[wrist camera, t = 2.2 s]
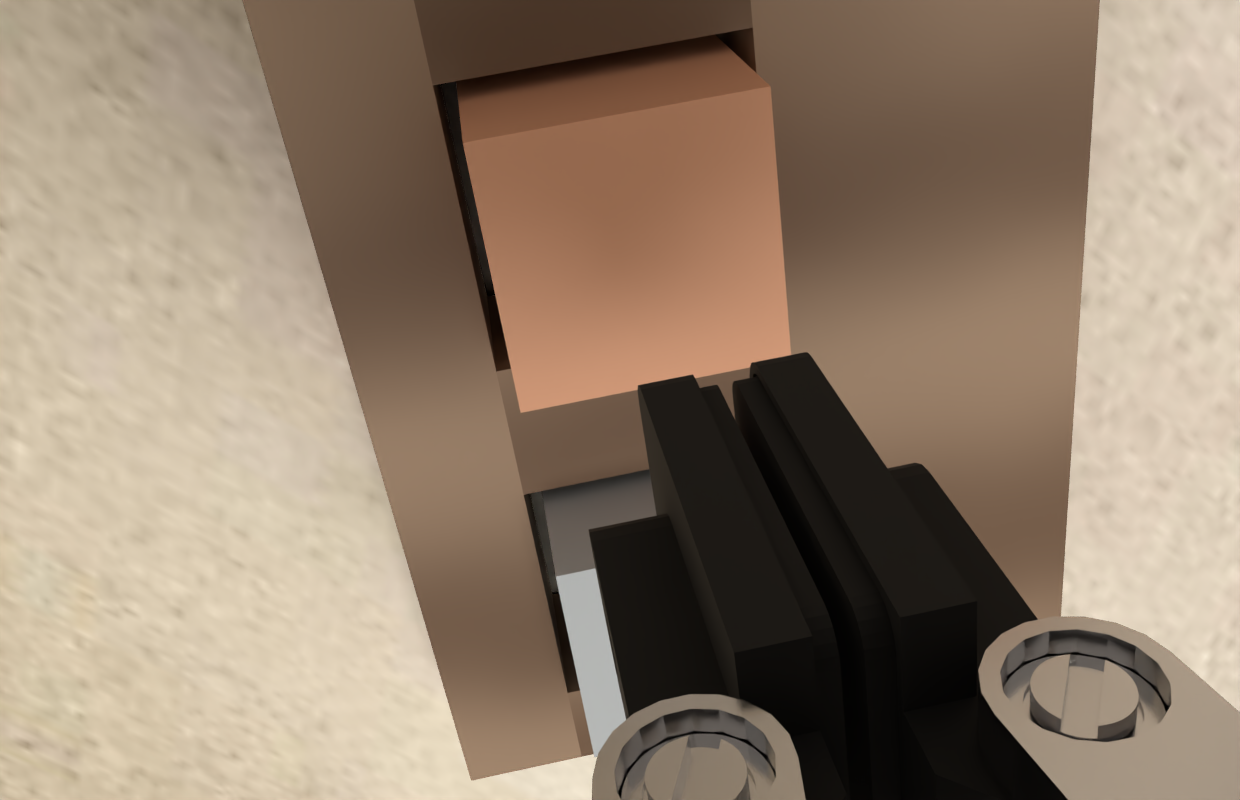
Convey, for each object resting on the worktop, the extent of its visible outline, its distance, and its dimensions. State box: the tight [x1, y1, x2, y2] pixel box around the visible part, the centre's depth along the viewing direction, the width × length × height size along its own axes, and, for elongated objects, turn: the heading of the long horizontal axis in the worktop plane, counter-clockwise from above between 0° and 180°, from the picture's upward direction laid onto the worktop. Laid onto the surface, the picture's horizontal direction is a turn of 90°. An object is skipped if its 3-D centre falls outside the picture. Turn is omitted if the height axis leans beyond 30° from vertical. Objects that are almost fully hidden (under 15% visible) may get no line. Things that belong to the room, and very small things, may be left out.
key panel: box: [243, 0, 1100, 780], centre depth 19 cm, size 22×12×3 cm, turn 8°
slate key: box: [542, 469, 657, 757], centre depth 21 cm, size 4×4×4 cm
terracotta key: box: [456, 35, 791, 413], centre depth 17 cm, size 4×4×4 cm
